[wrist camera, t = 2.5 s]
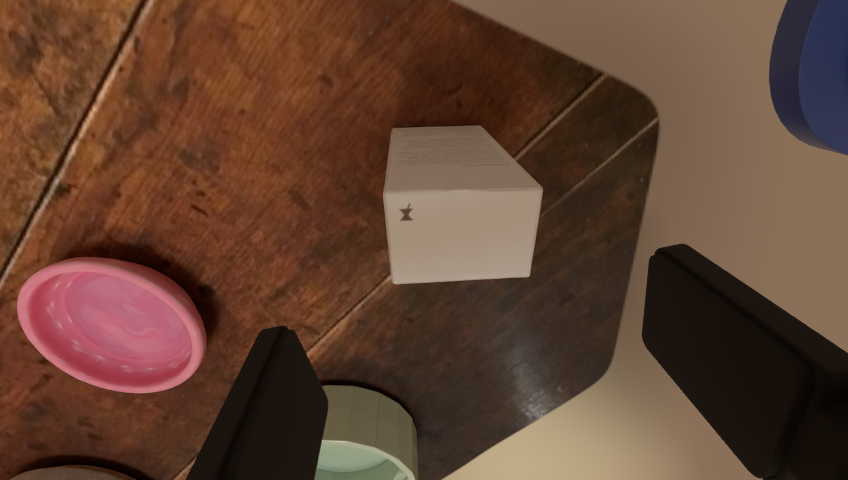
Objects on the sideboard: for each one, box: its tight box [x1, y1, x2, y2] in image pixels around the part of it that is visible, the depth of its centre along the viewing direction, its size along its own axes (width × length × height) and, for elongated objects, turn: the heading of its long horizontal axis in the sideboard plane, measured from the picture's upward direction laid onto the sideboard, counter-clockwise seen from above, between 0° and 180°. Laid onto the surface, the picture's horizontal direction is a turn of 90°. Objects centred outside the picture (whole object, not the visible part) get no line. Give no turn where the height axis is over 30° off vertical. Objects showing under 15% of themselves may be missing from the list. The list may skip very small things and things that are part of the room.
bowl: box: [314, 385, 418, 480], centre depth 35 cm, size 15×15×6 cm
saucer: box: [17, 257, 207, 393], centre depth 28 cm, size 12×12×3 cm
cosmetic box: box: [383, 125, 543, 284], centre depth 19 cm, size 6×4×12 cm
